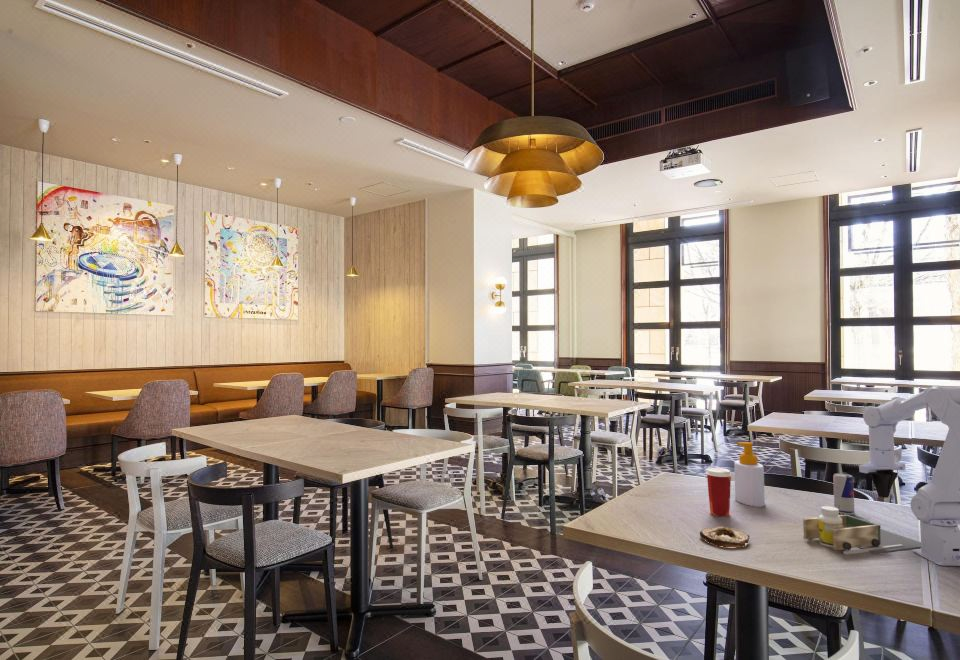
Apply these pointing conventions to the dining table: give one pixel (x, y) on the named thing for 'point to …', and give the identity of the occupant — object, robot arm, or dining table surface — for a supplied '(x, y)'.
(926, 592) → the dining table surface
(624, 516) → the dining table surface
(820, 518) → the supplement bottle
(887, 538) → the track
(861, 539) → the cart
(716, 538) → the ring pastry
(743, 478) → the soap bottle
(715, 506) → the paper cup
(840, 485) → the energy drink
